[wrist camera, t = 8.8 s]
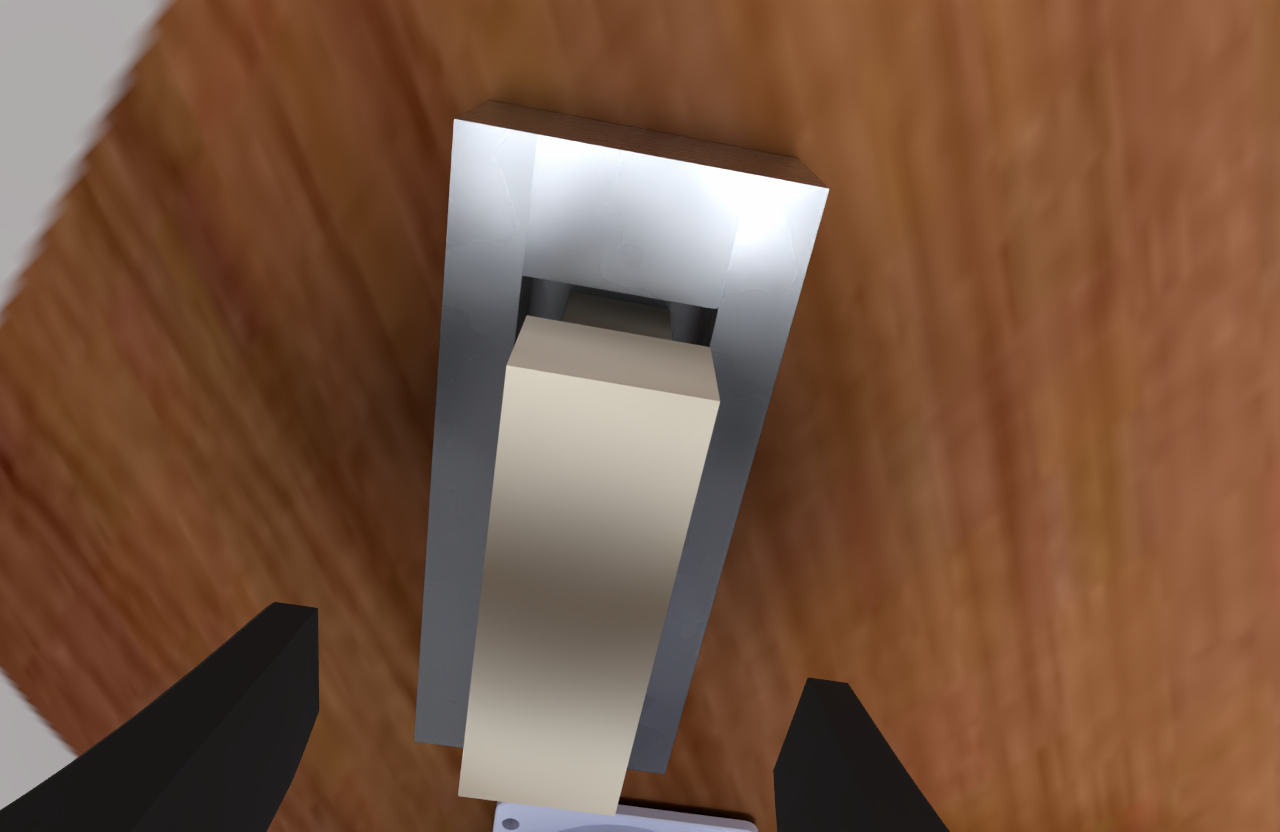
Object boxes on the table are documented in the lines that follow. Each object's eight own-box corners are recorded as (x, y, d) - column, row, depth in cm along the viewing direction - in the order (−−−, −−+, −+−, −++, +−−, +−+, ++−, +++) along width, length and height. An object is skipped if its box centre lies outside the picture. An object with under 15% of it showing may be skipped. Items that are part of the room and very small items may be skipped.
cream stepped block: (622, 633, 19) (614, 815, 15) (502, 615, 19) (458, 795, 15) (699, 289, 15) (720, 401, 11) (548, 262, 15) (506, 364, 11)
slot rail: (662, 680, 22) (664, 774, 19) (443, 649, 21) (413, 741, 18) (797, 158, 15) (829, 188, 13) (489, 99, 15) (454, 118, 12)
